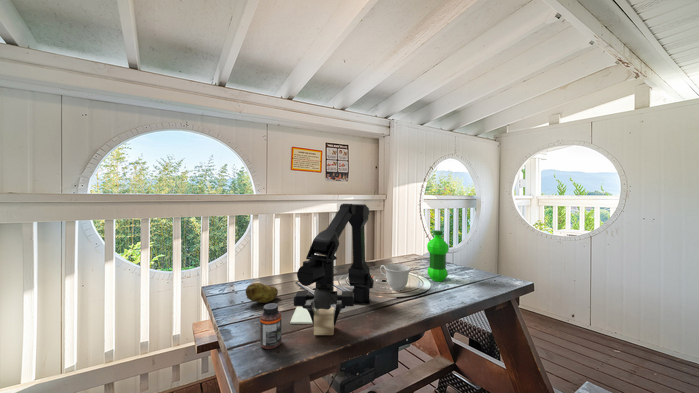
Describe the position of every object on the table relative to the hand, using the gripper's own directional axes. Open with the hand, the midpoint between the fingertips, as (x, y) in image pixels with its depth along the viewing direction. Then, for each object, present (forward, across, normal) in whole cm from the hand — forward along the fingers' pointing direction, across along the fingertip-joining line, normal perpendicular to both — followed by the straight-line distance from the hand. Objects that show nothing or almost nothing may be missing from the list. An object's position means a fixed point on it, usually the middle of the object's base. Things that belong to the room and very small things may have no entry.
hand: (324, 325), depth 85 cm
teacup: (+2, +29, +39) cm, 49 cm away
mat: (+2, -6, +11) cm, 13 cm away
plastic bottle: (+2, +53, +51) cm, 74 cm away
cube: (+2, 0, 0) cm, 2 cm away
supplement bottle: (+2, -15, -7) cm, 17 cm away
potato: (+2, -27, +23) cm, 36 cm away
